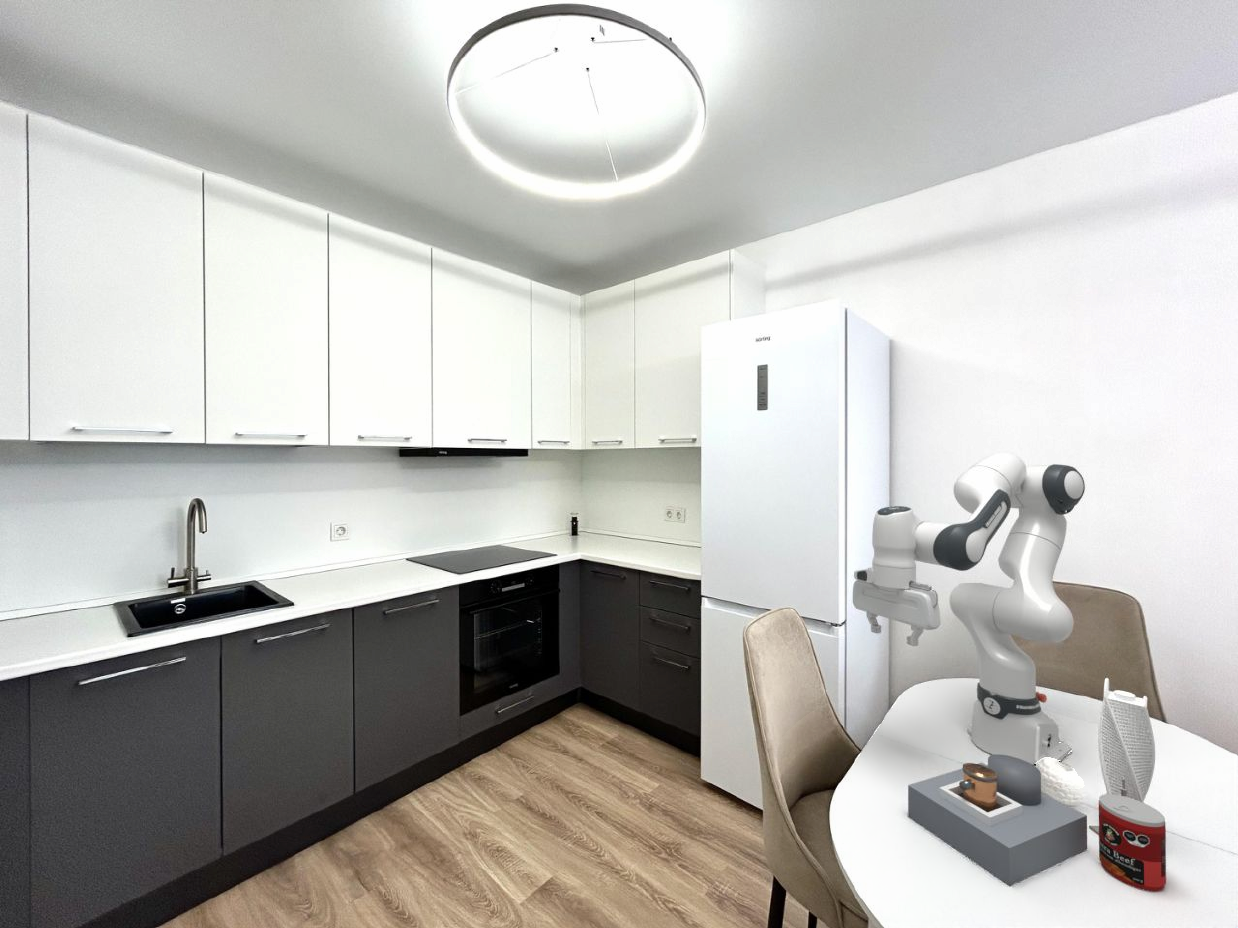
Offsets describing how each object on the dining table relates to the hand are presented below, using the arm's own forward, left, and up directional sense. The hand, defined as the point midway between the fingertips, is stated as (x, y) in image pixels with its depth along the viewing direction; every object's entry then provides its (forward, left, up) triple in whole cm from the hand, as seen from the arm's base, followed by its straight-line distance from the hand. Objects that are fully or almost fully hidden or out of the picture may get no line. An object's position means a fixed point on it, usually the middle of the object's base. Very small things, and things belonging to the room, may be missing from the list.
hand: (893, 638), depth 116 cm
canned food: (-10, +37, -29) cm, 48 cm away
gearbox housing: (+1, +22, -29) cm, 36 cm away
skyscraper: (-20, +32, -29) cm, 48 cm away
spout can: (+6, +22, -26) cm, 35 cm away
